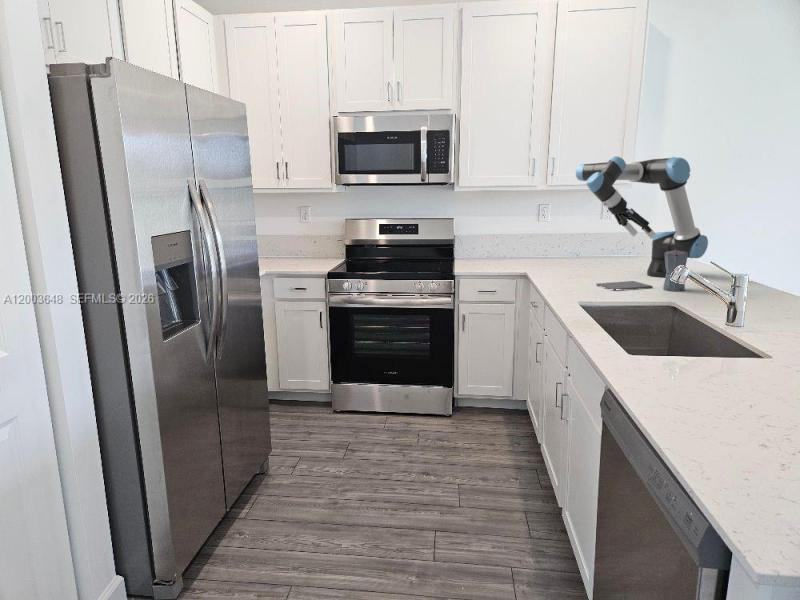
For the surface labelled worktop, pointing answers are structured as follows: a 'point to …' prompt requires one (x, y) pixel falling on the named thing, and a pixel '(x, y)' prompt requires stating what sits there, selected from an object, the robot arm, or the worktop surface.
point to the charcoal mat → (624, 285)
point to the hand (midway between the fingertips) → (644, 235)
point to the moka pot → (671, 263)
